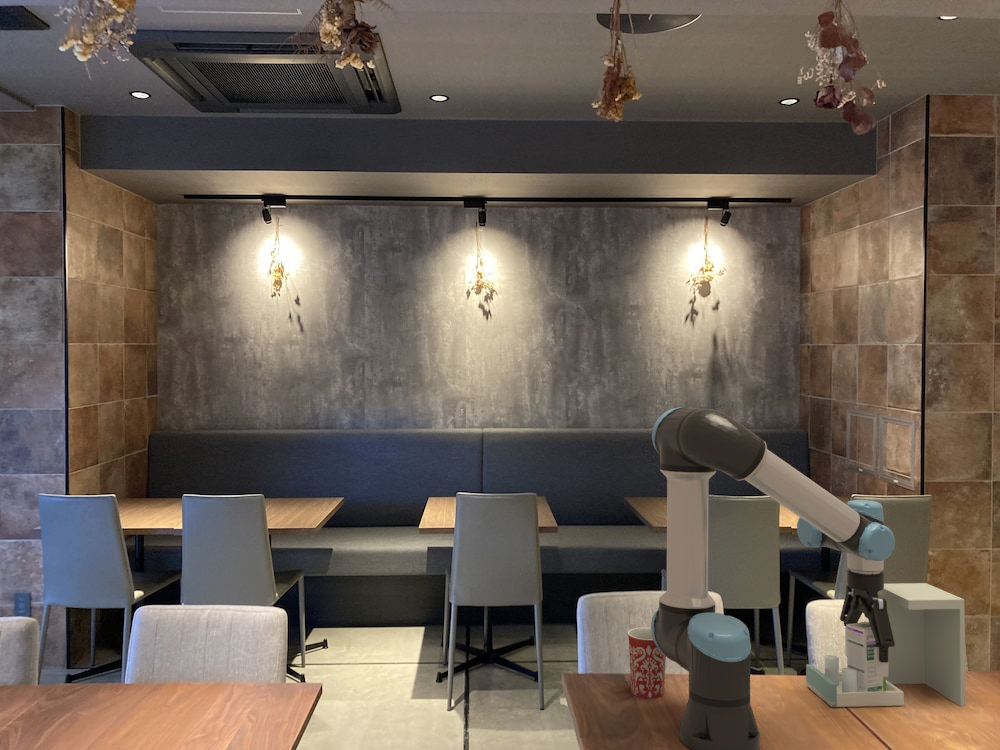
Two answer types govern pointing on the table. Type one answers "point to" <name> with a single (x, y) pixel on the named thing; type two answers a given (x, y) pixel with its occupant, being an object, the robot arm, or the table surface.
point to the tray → (870, 696)
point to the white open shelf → (926, 638)
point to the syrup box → (863, 657)
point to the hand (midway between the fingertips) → (866, 665)
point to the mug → (645, 664)
